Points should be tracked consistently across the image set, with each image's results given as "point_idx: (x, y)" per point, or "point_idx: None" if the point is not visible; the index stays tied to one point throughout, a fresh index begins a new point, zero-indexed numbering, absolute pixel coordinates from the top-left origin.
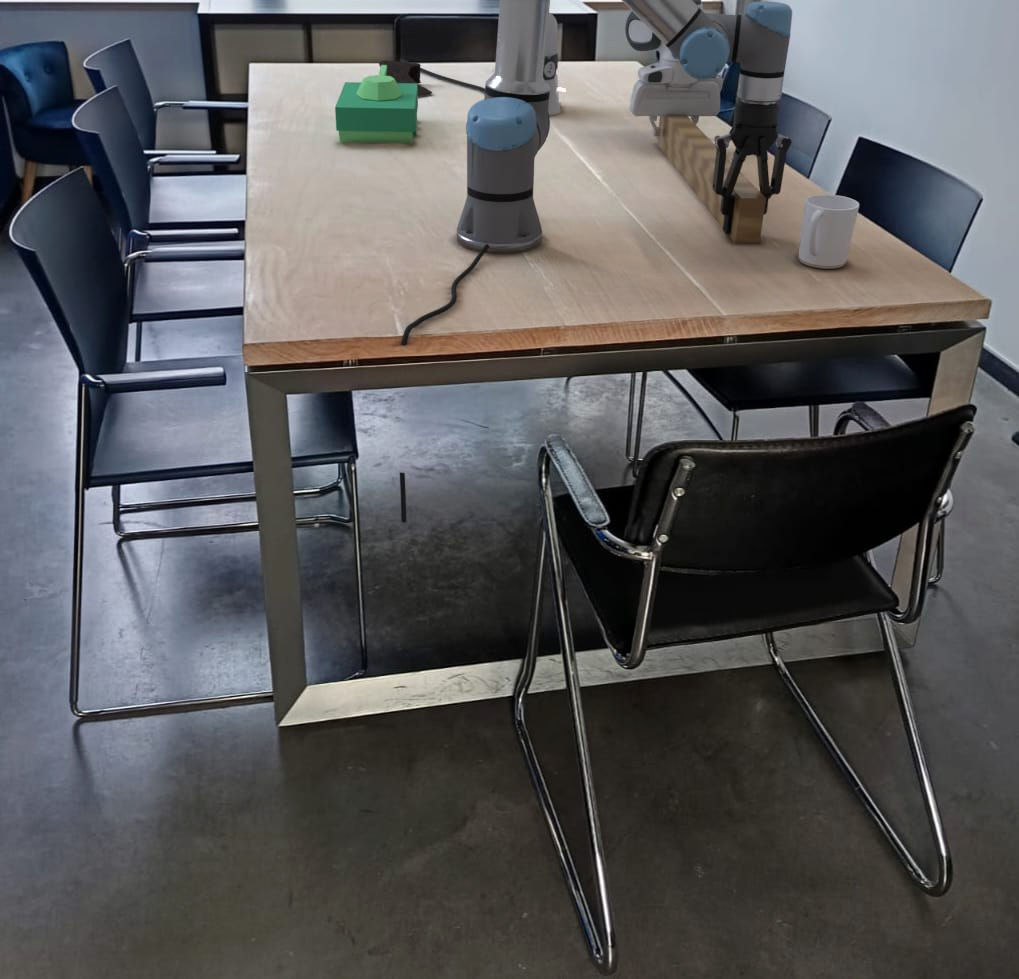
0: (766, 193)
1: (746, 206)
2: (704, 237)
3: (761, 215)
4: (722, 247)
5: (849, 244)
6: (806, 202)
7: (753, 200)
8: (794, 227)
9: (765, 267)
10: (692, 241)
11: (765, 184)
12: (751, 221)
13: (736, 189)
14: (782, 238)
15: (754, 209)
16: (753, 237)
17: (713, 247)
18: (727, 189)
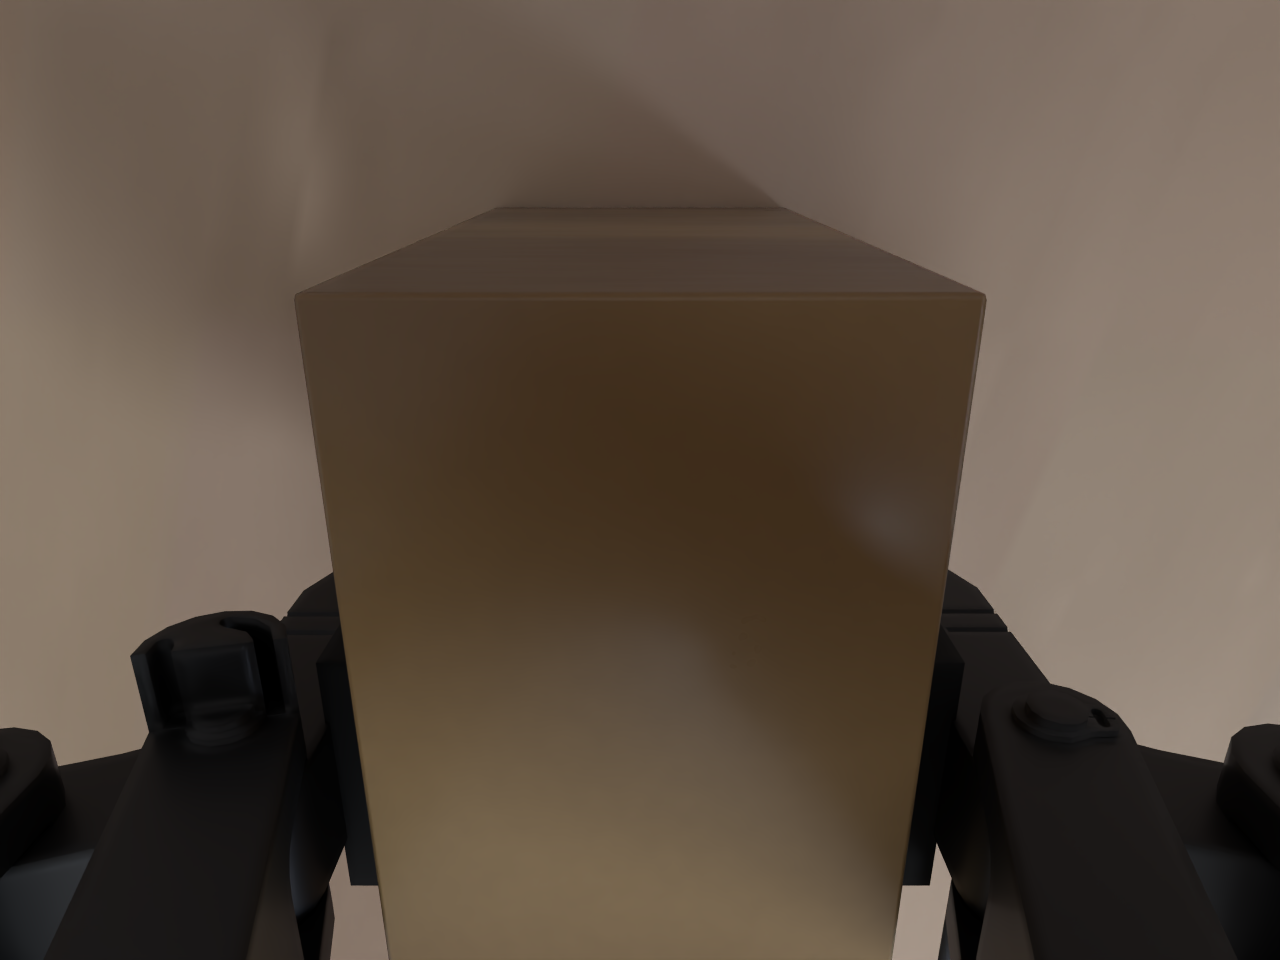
0: (227, 733)
1: (775, 266)
2: (1054, 431)
3: (451, 244)
4: (986, 73)
5: None
6: None
7: (638, 281)
8: (38, 693)
9: None
10: (1246, 304)
11: (181, 897)
12: (623, 231)
13: (837, 907)
14: (198, 377)
15: (590, 256)
16: (572, 212)
17: (1096, 76)
18: (1147, 805)
